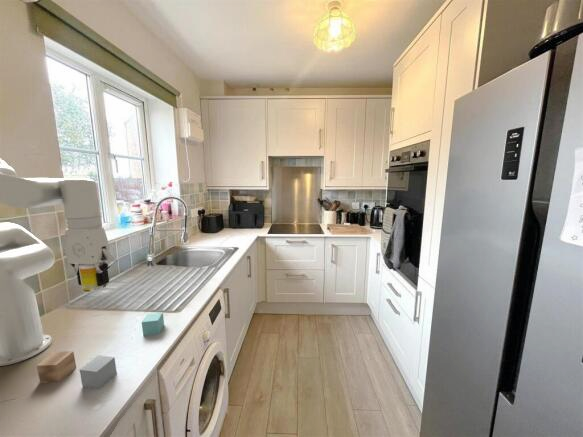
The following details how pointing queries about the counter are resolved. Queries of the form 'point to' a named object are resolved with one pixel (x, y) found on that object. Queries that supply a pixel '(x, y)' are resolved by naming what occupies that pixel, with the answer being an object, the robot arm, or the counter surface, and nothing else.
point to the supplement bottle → (89, 278)
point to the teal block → (153, 323)
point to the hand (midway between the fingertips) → (94, 283)
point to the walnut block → (56, 366)
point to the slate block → (98, 372)
